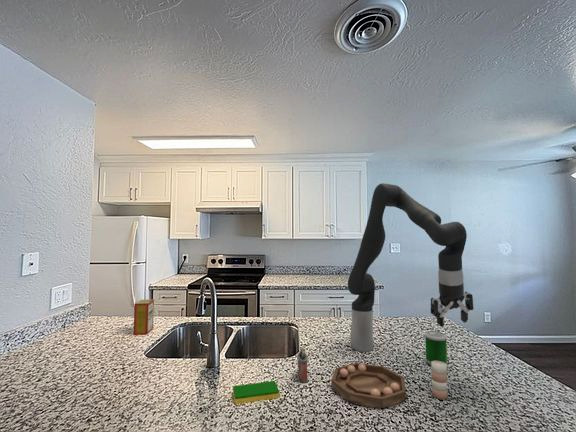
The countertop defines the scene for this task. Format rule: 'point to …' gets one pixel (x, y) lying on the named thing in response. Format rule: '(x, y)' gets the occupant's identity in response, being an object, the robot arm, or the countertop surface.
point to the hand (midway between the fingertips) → (452, 323)
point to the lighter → (302, 366)
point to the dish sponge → (255, 392)
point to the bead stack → (439, 379)
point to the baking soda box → (143, 317)
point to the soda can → (435, 347)
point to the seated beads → (374, 392)
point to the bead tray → (369, 386)
